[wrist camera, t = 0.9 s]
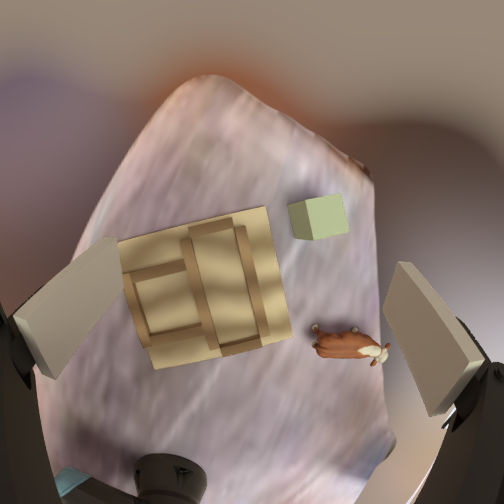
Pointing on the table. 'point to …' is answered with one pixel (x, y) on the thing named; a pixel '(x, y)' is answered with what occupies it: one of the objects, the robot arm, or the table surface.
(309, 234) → the sage-green tail block
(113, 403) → the table surface
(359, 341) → the bull figurine
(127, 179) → the table surface
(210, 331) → the beech board
